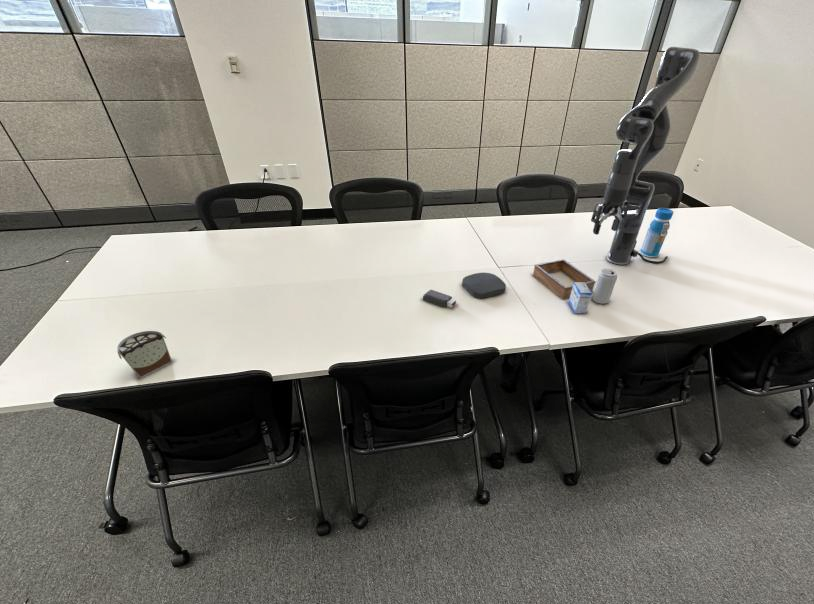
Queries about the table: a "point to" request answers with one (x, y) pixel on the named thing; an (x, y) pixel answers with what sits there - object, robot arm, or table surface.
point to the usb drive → (439, 299)
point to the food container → (144, 352)
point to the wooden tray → (556, 286)
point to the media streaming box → (483, 285)
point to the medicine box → (580, 297)
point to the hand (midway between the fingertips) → (604, 232)
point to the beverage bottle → (656, 233)
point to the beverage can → (604, 286)
